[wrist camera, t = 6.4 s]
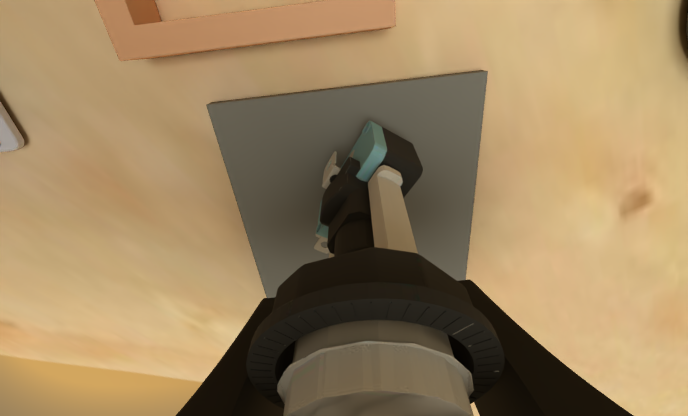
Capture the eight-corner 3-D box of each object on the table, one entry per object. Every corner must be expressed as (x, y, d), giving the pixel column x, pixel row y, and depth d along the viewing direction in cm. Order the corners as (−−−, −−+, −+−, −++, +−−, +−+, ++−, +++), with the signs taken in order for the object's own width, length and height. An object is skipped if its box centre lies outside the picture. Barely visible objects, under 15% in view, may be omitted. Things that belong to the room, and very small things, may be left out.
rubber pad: (271, 297, 19) (269, 305, 19) (211, 102, 14) (206, 104, 13) (461, 280, 19) (464, 287, 18) (481, 70, 13) (487, 71, 13)
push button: (365, 248, 17) (381, 497, 8) (272, 210, 15) (186, 468, 7) (444, 149, 13) (601, 411, 5) (334, 88, 12) (304, 318, 4)
